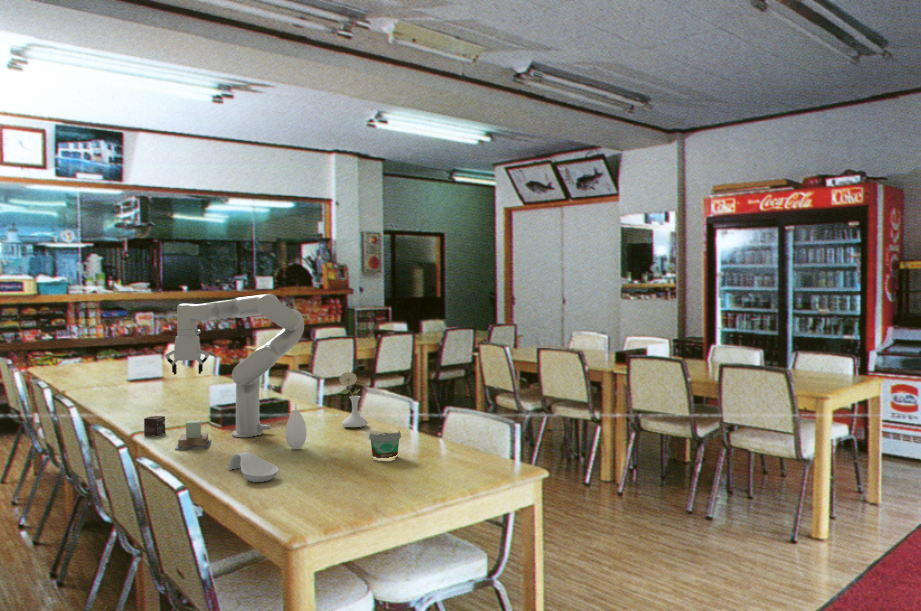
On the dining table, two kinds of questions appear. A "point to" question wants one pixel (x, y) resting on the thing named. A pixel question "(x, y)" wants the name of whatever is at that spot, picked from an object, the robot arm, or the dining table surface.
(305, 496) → the dining table surface
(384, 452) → the food container
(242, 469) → the spoon rest
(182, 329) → the robot arm
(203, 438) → the plinth
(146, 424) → the box
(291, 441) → the sauce bottle
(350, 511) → the dining table surface
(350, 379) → the flower in vase
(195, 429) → the block
